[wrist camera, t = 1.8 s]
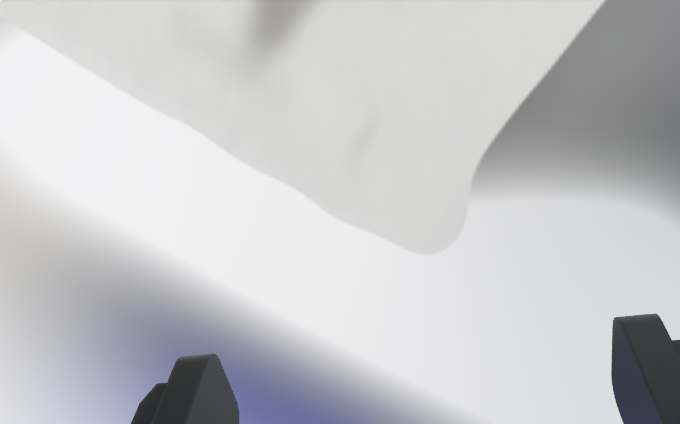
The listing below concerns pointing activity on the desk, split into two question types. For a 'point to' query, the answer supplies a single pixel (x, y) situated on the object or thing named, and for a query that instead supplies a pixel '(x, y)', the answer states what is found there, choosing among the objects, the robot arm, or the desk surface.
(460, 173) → the desk surface
